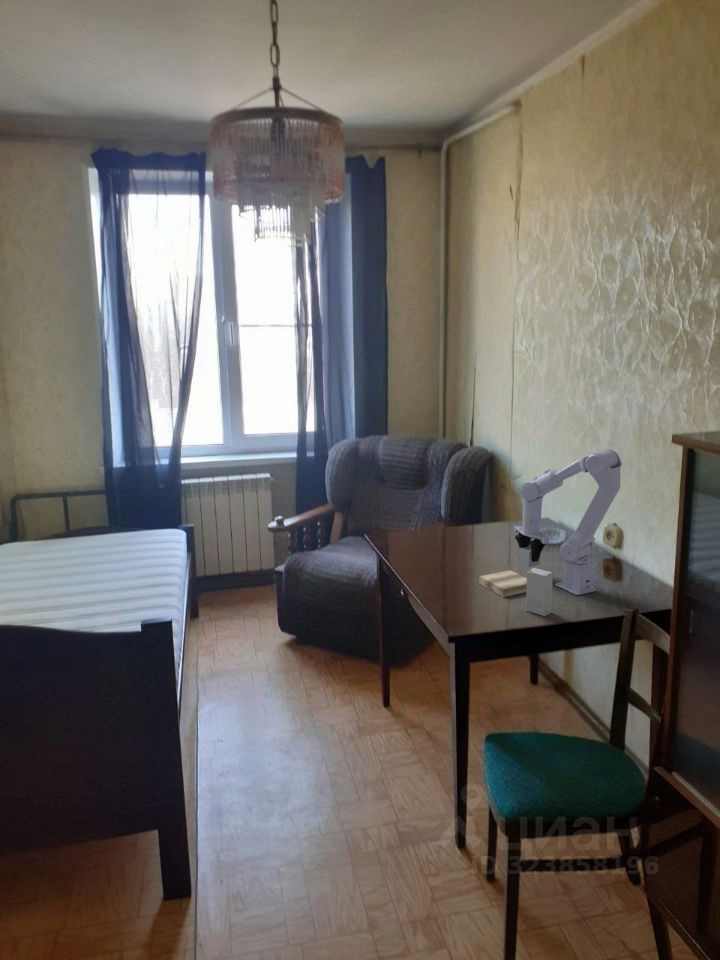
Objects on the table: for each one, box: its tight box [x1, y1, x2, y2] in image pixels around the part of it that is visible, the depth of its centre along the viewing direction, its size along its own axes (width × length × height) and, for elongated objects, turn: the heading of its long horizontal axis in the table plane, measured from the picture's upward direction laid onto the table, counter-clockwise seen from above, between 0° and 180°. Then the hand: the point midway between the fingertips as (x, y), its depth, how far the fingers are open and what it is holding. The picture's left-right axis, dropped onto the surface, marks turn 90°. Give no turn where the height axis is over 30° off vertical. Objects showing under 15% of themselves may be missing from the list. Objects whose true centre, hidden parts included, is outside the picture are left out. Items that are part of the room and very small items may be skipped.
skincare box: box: [525, 567, 554, 617], centre depth 195 cm, size 6×4×12 cm
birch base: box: [478, 569, 527, 598], centre depth 215 cm, size 12×12×2 cm
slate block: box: [519, 545, 541, 568], centre depth 223 cm, size 4×4×5 cm
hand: (529, 558), depth 224 cm, fingers closed on slate block, 4 cm apart
